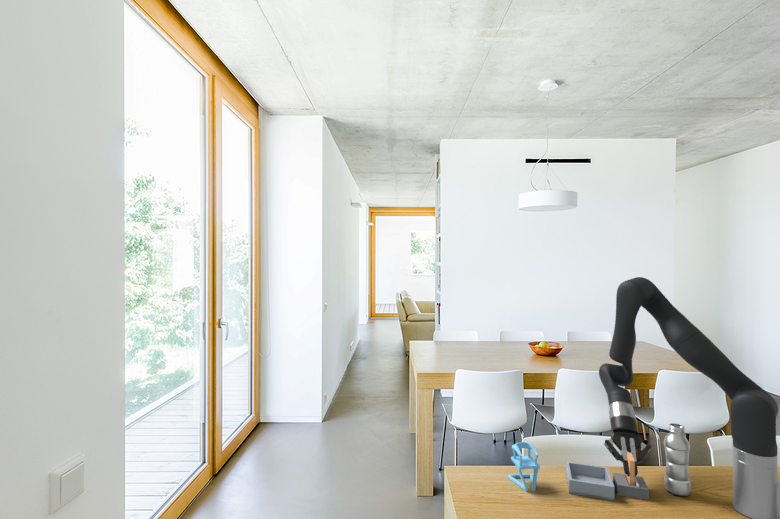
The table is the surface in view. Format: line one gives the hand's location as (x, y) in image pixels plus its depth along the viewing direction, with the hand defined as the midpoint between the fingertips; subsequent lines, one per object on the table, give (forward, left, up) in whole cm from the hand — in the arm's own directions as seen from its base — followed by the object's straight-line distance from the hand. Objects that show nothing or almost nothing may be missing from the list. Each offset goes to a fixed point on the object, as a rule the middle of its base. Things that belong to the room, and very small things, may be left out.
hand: (631, 475), depth 121 cm
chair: (+30, +5, -5) cm, 31 cm away
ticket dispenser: (0, -1, -5) cm, 5 cm away
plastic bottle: (-13, -5, -5) cm, 15 cm away
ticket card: (0, -2, -5) cm, 5 cm away
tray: (+12, 0, -5) cm, 13 cm away
